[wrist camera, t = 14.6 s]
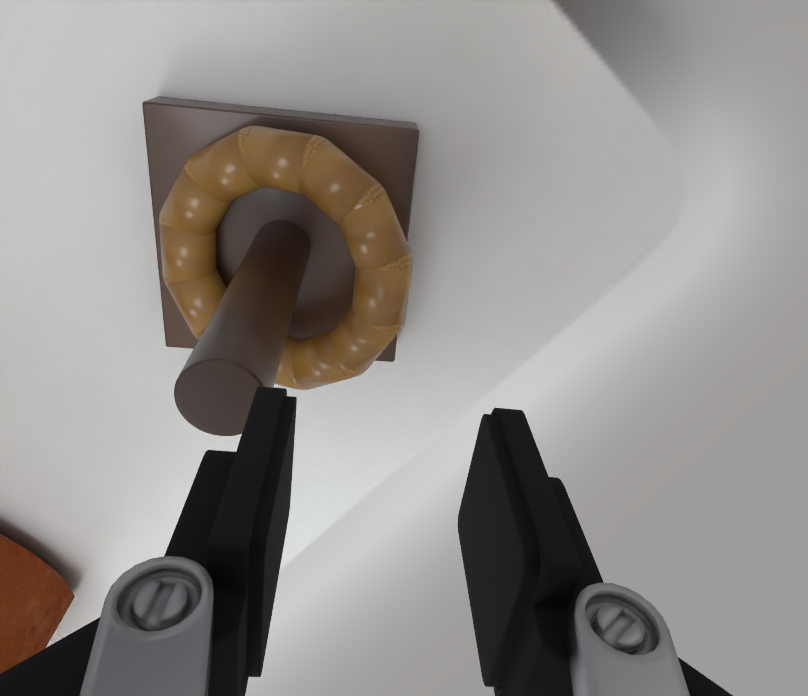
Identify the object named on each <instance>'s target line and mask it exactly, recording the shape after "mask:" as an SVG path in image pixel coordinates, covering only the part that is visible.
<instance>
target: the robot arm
mask: <svg viewBox="0 0 808 696" xmlns="http://www.w3.org/2000/svg"><path fill="white" fill-rule="evenodd" d="M296 401H297V398H296V397H289V396H287V390H286V389H283V388H272V387H261V386H258V387H257V389H256V392H255V395H254V398H253V402H252V405H251V408H250V411H249V414H248V417H247V420H246V423H245V427H244V430H243V433H242V436H241V439H240V442H239V445H238V449H237V452H228V451H215V450H208V451H206V453H205V455H204V457H203V459H202V461H201V464H200V467H199V469H198V472H197V474H196V477H195V479H194V482H193V484H192V487H191V490H190V492H189V495H188V497H187V500H186V502H185V505H184V507H183V510H182V513H181V515H180V518H179V520H178V523H177V525H176V528H175V530H174V533H173V536H172V538H171V541H170V543H169V546H168V548H167V551H166V553H165V556H164V557H159V558H153V559H150V560H147V561H145V562H142V563H140V564H137V565H135V566H134V567H132V568H131V569H129V570H128V571H126V572H125V573H123V574H122V575H121V576H120V577H119V578H118V579H117V581H116V582H115V583H114V584H113V585H112V586H111V588H110V590H109V592H108V594H107V597H106V599H105V602H104V606H103V609H102V613H101V617H100V618H98V619H96V620H94V621H93V622H91V623H89V624H87V625H86V626H84V627H82V628H80V629H79V630H77V631H75V632H73V633H72V634H70V635H68V636H66V637H64V638H63V639H61V640H59V641H57V642H56V643H54V644H52V645H50V646H49V647H47V648H45V649H43V650H42V651H40V652H38V653H36V654H35V655H33V656H31V657H29V658H27V659H26V660H24V661H22V662H20V663H19V664H17V665H15V666H13V667H12V668H10V669H8V670H6V671H5V672H3V673H1V674H0V696H245V692H246V687H247V681H248V677H260V676H261V672H262V668H263V662H264V656H265V649H266V644H267V639H268V633H269V627H270V621H271V616H272V609H273V604H274V598H275V592H276V587H277V581H278V575H279V569H280V563H281V558H282V552H283V546H284V540H285V534H286V529H287V523H288V517H289V509H290V497H291V481H292V465H293V450H294V434H295V418H296ZM458 533H459V539H460V545H461V551H462V557H463V563H464V569H465V575H466V581H467V587H468V593H469V599H470V606H471V612H472V618H473V624H474V630H475V636H476V642H477V648H478V654H479V660H480V666H481V672H482V678H483V682H484V685H485V686H488V687H494V693H495V696H732V695H731V694H729V693H728V692H727V691H725V690H724V689H722V688H721V687H720V686H718V685H717V684H715V683H714V682H713V681H711V680H710V679H708V678H707V677H705V676H704V675H703V674H701V673H700V672H698V671H697V670H695V669H694V668H693V667H691V666H690V665H688V664H687V663H686V662H684V661H683V660H681V659H680V658H678V657H677V654H676V651H675V647H674V644H673V641H672V638H671V635H670V631H669V629H668V627H667V625H666V623H665V621H664V619H663V617H662V616H661V615H660V613H659V612H658V611H657V609H656V608H655V607H654V606H653V605H652V604H651V603H649V602H648V601H647V600H646V599H645V598H643V597H642V596H641V595H639V594H637V593H636V592H634V591H632V590H630V589H628V588H626V587H623V586H619V585H616V584H612V583H604V582H603V580H602V577H601V575H600V573H599V570H598V568H597V565H596V563H595V560H594V558H593V556H592V553H591V551H590V548H589V546H588V543H587V541H586V538H585V536H584V533H583V531H582V529H581V526H580V524H579V521H578V519H577V516H576V514H575V511H574V509H573V506H572V504H571V502H570V499H569V497H568V494H567V492H566V489H565V487H564V485H563V483H562V481H561V480H560V479H558V478H553V477H548V474H547V472H546V469H545V467H544V464H543V461H542V459H541V456H540V453H539V451H538V448H537V446H536V443H535V440H534V438H533V435H532V432H531V430H530V427H529V425H528V422H527V419H526V417H525V414H524V413H523V411H521V410H513V409H502V408H494V409H493V411H492V413H491V415H490V414H484V415H483V417H482V419H481V423H480V427H479V432H478V436H477V440H476V444H475V448H474V452H473V457H472V461H471V465H470V469H469V473H468V477H467V481H466V486H465V490H464V494H463V498H462V502H461V506H460V511H459V515H458Z"/></svg>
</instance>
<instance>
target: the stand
mask: <svg viewBox="0 0 808 696" xmlns="http://www.w3.org/2000/svg"><path fill="white" fill-rule="evenodd" d="M143 114H144V124H145V135H146V145H147V155H148V165H149V176H150V186H151V196H152V206H153V217H154V227H155V237H156V248H157V258H158V268H159V278H160V289H161V299H162V309H163V319H164V330H165V340H166V346H167V347H180V348H194V349H193V351H192V353H191V355H190V357H189V359H188V360H187V362H186V364H185V366H184V368H183V369H182V371H181V373H180V375H179V377H178V379H177V381H176V384H175V388H174V397H175V402H176V405H177V407H178V409H179V411H180V413H181V414H182V416H183V417H184V418H185V419H186V420H187V421H188V422H189V423H190V424H192V425H193V426H194V427H196V428H198V429H199V430H202V431H204V432H206V433H210V434H213V435H219V436H233V435H238V434H242V433H243V430H244V427H245V423H246V420H247V417H248V414H249V411H250V408H251V405H252V402H253V398H254V395H255V392H256V389H257V387H258V386H261V387H272V388H273V386H274V382H275V379H276V375H277V371H278V368H279V364H280V360H281V357H282V353H283V349H284V346H285V342H286V338H287V336H291V337H296V338H300V339H304V338H307V337H311V336H314V335H317V334H320V333H323V332H326V331H329V330H332V329H333V328H334V327H335V326H336V324H337V323H338V322H339V321H340V319H341V318H342V317H343V315H344V314H345V313H346V312H347V310H348V309H349V308H350V306H351V305H352V301H353V289H354V277H355V263H354V261H353V259H352V256H351V254H350V252H349V250H348V247H347V245H346V243H345V241H344V238H343V236H342V234H341V231H340V229H339V227H338V225H337V223H336V222H335V221H333V220H332V219H331V218H330V217H328V216H327V215H326V214H325V213H324V212H322V211H321V210H320V209H319V208H318V207H316V206H315V205H314V204H313V203H311V202H310V201H309V200H308V199H307V198H305V197H304V196H303V195H302V194H298V193H292V192H287V191H281V190H276V189H270V188H265V187H262V188H260V189H257V190H255V191H253V192H251V193H248V194H246V195H244V196H242V197H240V198H237V199H235V200H233V201H232V202H231V204H230V206H229V207H228V209H227V211H226V213H225V214H224V216H223V218H222V220H221V221H220V223H219V225H218V227H217V228H216V267H217V270H218V272H219V274H220V276H221V278H222V280H223V282H224V284H225V286H226V288H227V289H226V291H225V293H224V295H223V297H222V298H221V300H220V302H219V304H218V306H217V308H216V309H215V311H214V313H213V315H212V317H211V318H210V320H209V322H208V324H207V326H206V328H205V329H204V331H203V333H202V335H201V337H200V339H199V340H198V339H197V338H196V337H195V336H194V335H193V333H192V332H191V330H190V328H189V326H188V325H187V323H186V321H185V319H184V317H183V315H182V314H181V312H180V310H179V308H178V306H177V304H176V303H175V301H174V299H173V297H172V295H171V294H170V292H169V290H168V288H167V286H166V284H165V282H164V279H163V272H162V257H161V242H160V227H159V216H160V212H161V209H162V207H163V205H164V203H165V201H166V199H167V197H168V195H169V193H170V191H171V189H172V187H173V185H174V183H175V181H176V179H177V177H178V175H179V173H180V171H181V169H182V167H183V165H184V163H185V162H186V160H187V159H188V158H189V157H190V156H191V155H192V154H193V153H195V152H197V151H199V150H201V149H203V148H205V147H207V146H209V145H211V144H213V143H215V142H217V141H219V140H221V139H223V138H225V137H227V136H229V135H231V134H233V133H235V132H237V131H239V130H240V129H243V128H245V127H248V126H263V127H269V128H275V129H281V130H287V131H293V132H300V133H306V134H312V135H317V136H321V137H324V138H326V139H327V140H329V141H330V142H332V143H333V144H334V145H335V146H336V147H338V148H339V149H340V150H341V151H342V152H344V153H345V154H346V155H347V156H348V157H350V158H351V159H352V160H353V161H354V162H356V163H357V164H358V165H359V166H360V167H361V168H363V169H364V170H365V171H366V172H367V173H369V174H370V175H371V176H372V177H373V178H375V179H376V180H377V181H378V182H379V183H380V184H381V185H382V186H383V187H384V188H385V190H386V192H387V194H388V197H389V199H390V201H391V204H392V206H393V209H394V211H395V214H396V216H397V219H398V221H399V224H400V226H401V228H402V231H403V233H404V236H405V238H406V241H407V240H408V231H409V222H410V213H411V203H412V194H413V185H414V176H415V167H416V157H417V148H418V139H419V129H418V127H417V124H416V123H411V122H401V121H391V120H381V119H371V118H362V117H352V116H342V115H332V114H322V113H313V112H303V111H293V110H283V109H273V108H264V107H254V106H244V105H234V104H224V103H214V102H205V101H195V100H185V99H175V98H165V97H156V98H153V99H150V100H147V101H144V102H143ZM396 341H397V335H396V336H395V337H394V339H393V340H392V341H391V342H390V343H389V344H388V346H387V347H386V348H385V349H384V350H383V351H382V353H381V354H380V355H379V356H378V357H377V358H376V360H375V361H390V362H393V361H394V360H395V350H396Z"/></svg>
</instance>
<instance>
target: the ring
mask: <svg viewBox="0 0 808 696" xmlns="http://www.w3.org/2000/svg"><path fill="white" fill-rule="evenodd" d="M262 187H265V188H270V189H276V190H281V191H287V192H292V193H298V194H302V195H303V196H304V197H305V198H307V199H308V200H309V201H310V202H311V203H313V204H314V205H315V206H316V207H318V208H319V209H320V210H321V211H322V212H324V213H325V214H326V215H327V216H328V217H330V218H331V219H332V220H333V221H335V222H336V223H337V225H338V227H339V229H340V231H341V234H342V236H343V238H344V241H345V243H346V245H347V247H348V250H349V252H350V254H351V256H352V259H353V261H354V263H355V277H354V289H353V301H352V305H351V306H350V308H349V309H348V310H347V312H346V313H345V314H344V315H343V317H342V318H341V319H340V321H339V322H338V323H337V324H336V326H335V327H334V328H333V329H332V330H329V331H326V332H323V333H320V334H317V335H314V336H311V337H307V338H304V339H300V338H296V337H291V336H287V338H286V342H285V346H284V349H283V353H282V357H281V360H280V364H279V368H278V371H277V375H276V379H275V382H274V384H278V385H282V386H286V387H290V388H294V389H298V390H309V389H313V388H316V387H320V386H323V385H327V384H330V383H334V382H338V381H341V380H345V379H348V378H352V377H355V376H358V375H360V374H362V373H364V372H365V371H366V370H367V369H368V368H369V367H370V365H371V364H372V363H373V362H374V361H375V360H376V358H377V357H378V356H379V355H380V354H381V353H382V351H383V350H384V349H385V348H386V347H387V346H388V344H389V343H390V342H391V341H392V340H393V339H394V337H395V336H396V335H397V334H398V333H399V332H400V330H401V329H402V327H403V325H404V322H405V317H406V309H407V301H408V293H409V285H410V278H411V270H412V254H411V251H410V248H409V246H408V243H407V241H406V238H405V236H404V233H403V231H402V228H401V226H400V224H399V221H398V219H397V216H396V214H395V211H394V209H393V206H392V204H391V201H390V199H389V197H388V194H387V192H386V190H385V188H384V187H383V186H382V185H381V184H380V183H379V182H378V181H377V180H376V179H375V178H373V177H372V176H371V175H370V174H369V173H367V172H366V171H365V170H364V169H363V168H361V167H360V166H359V165H358V164H357V163H356V162H354V161H353V160H352V159H351V158H350V157H348V156H347V155H346V154H345V153H344V152H342V151H341V150H340V149H339V148H338V147H336V146H335V145H334V144H333V143H332V142H330V141H329V140H327V139H326V138H324V137H321V136H317V135H312V134H306V133H300V132H293V131H287V130H281V129H275V128H269V127H263V126H248V127H245V128H243V129H240V130H239V131H237V132H235V133H233V134H231V135H229V136H227V137H225V138H223V139H221V140H219V141H217V142H215V143H213V144H211V145H209V146H207V147H205V148H203V149H201V150H199V151H197V152H195V153H193V154H192V155H191V156H190V157H189V158H188V159H187V160H186V162H185V163H184V165H183V167H182V169H181V171H180V173H179V175H178V177H177V179H176V181H175V183H174V185H173V187H172V189H171V191H170V193H169V195H168V197H167V199H166V201H165V203H164V205H163V207H162V209H161V212H160V216H159V227H160V242H161V257H162V272H163V279H164V282H165V284H166V286H167V288H168V290H169V292H170V294H171V295H172V297H173V299H174V301H175V303H176V304H177V306H178V308H179V310H180V312H181V314H182V315H183V317H184V319H185V321H186V323H187V325H188V326H189V328H190V330H191V332H192V333H193V335H194V336H195V337H196V338H197V339H198V340H199V339H200V337H201V335H202V333H203V331H204V329H205V328H206V326H207V324H208V322H209V320H210V318H211V317H212V315H213V313H214V311H215V309H216V308H217V306H218V304H219V302H220V300H221V298H222V297H223V295H224V293H225V291H226V289H227V288H226V286H225V284H224V282H223V280H222V278H221V276H220V274H219V272H218V270H217V267H216V228H217V227H218V225H219V223H220V221H221V220H222V218H223V216H224V214H225V213H226V211H227V209H228V207H229V206H230V204H231V202H232V201H233V200H235V199H237V198H240V197H242V196H244V195H246V194H248V193H251V192H253V191H255V190H257V189H260V188H262Z"/></svg>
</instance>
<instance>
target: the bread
mask: <svg viewBox="0 0 808 696" xmlns="http://www.w3.org/2000/svg"><path fill="white" fill-rule="evenodd" d="M74 597H75V596H74V594H73V593H72V591H71V590H70V588H69V586H68V585H67V583H66V581H65V580H64V578H63V576H62V575H61V574H60V573H59V572H57V571H56V570H55V569H53V568H52V567H51V566H49V565H48V564H47V563H45V562H44V561H43V560H41V559H40V558H38V557H37V556H36V555H34V554H33V553H32V552H30V551H29V550H27V549H26V548H24V547H22V546H21V545H19V544H17V543H15V542H14V541H12V540H10V539H8V538H7V537H5V536H3V535H2V534H0V674H1V673H3V672H5V671H6V670H8V669H10V668H12V667H13V666H15V665H17V664H19V663H20V662H22V661H24V660H26V659H27V658H29V657H31V656H33V655H35V654H36V653H38V652H40V651H42V650H43V649H45V648H46V646H47V644H48V643H49V641H50V639H51V637H52V636H53V634H54V632H55V630H56V629H57V627H58V625H59V623H60V622H61V620H62V618H63V616H64V615H65V613H66V611H67V609H68V608H69V606H70V604H71V602H72V600H73V599H74Z"/></svg>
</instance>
